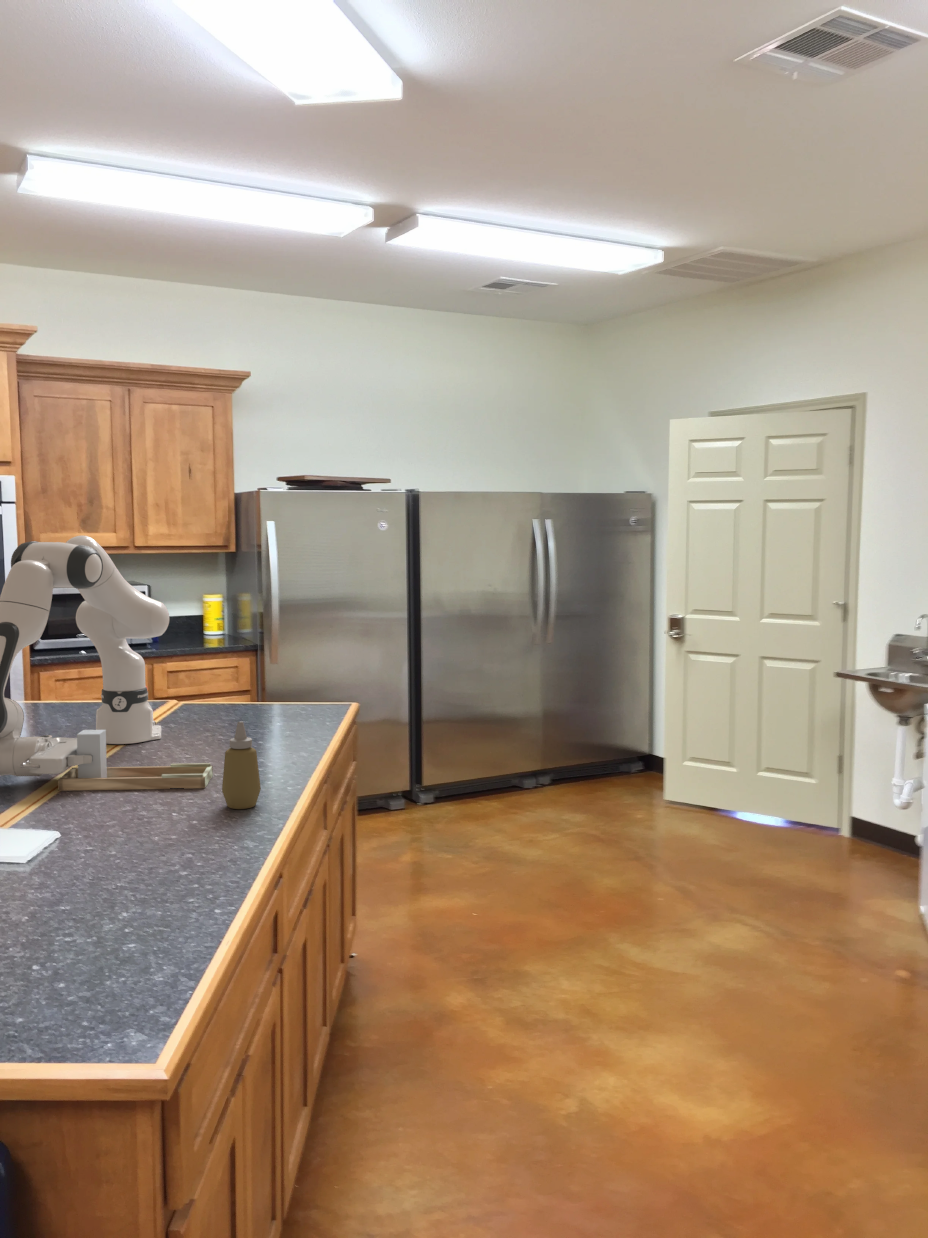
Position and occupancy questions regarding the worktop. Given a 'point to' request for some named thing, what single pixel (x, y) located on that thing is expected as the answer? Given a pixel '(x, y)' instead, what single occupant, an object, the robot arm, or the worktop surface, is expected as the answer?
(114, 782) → the channel
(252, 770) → the squeeze bottle
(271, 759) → the worktop surface
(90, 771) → the blue-grey block
